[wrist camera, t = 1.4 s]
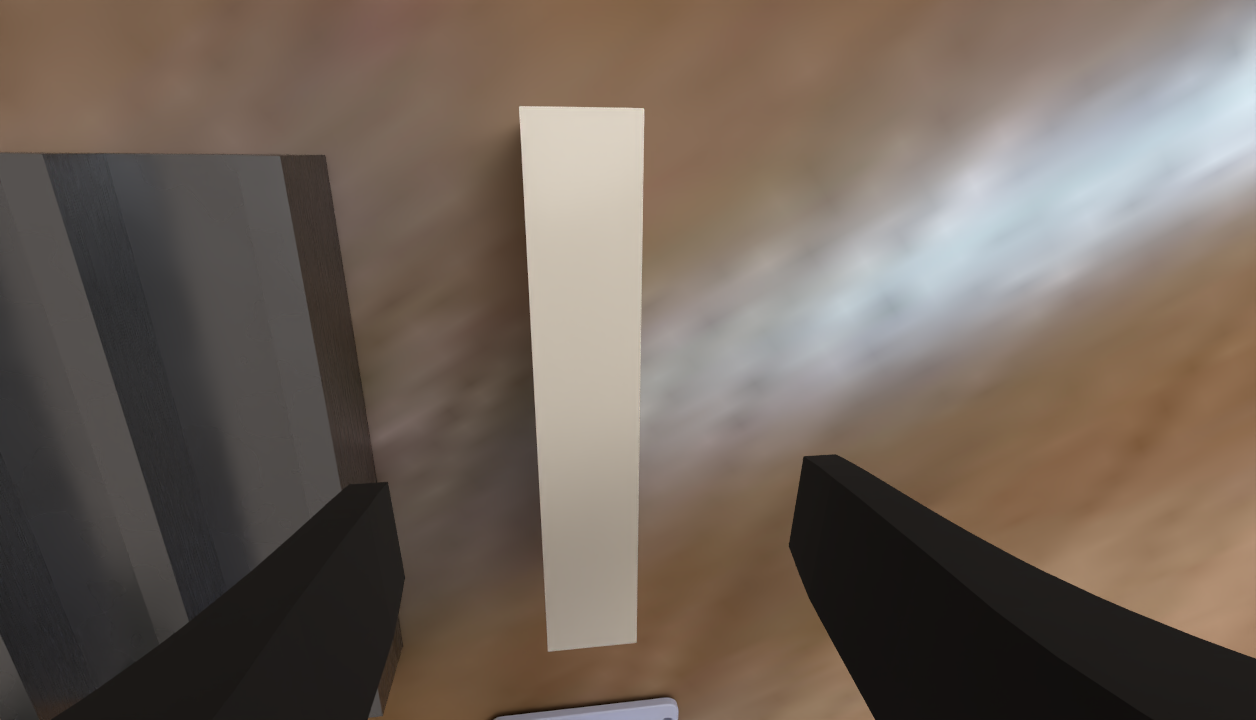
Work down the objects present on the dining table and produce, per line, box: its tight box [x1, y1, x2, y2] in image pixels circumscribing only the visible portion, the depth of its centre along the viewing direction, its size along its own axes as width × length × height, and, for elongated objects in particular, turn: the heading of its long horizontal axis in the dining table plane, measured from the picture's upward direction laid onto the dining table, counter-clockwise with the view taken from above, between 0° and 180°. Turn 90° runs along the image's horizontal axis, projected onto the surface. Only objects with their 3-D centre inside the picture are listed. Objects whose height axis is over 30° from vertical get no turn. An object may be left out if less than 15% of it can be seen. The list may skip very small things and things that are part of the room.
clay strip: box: [519, 106, 644, 652], centre depth 17 cm, size 14×2×6 cm, turn 179°
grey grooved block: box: [0, 153, 403, 720], centre depth 17 cm, size 18×16×3 cm
